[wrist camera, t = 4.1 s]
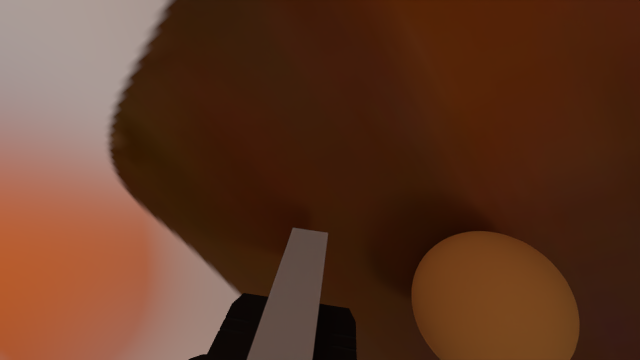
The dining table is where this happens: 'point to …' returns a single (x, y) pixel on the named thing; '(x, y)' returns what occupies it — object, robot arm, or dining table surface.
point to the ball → (493, 301)
